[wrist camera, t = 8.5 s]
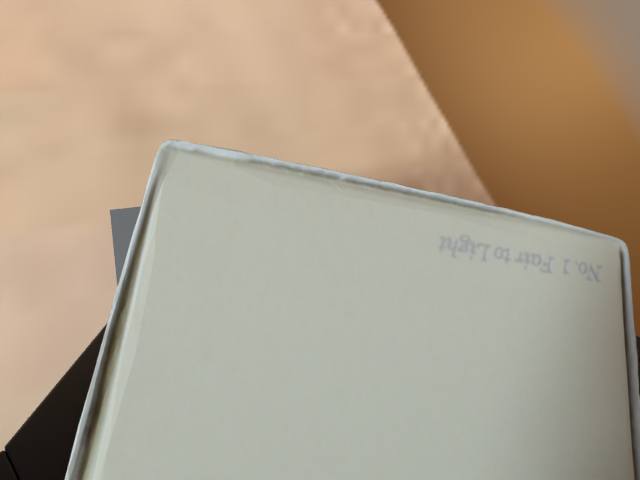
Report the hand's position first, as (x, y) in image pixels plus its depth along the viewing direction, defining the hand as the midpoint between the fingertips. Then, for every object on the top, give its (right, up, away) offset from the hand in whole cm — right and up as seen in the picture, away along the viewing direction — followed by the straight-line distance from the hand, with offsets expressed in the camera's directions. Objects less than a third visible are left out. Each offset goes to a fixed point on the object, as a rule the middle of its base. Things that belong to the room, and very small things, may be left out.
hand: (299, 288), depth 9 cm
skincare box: (-2, -3, +6) cm, 7 cm away
